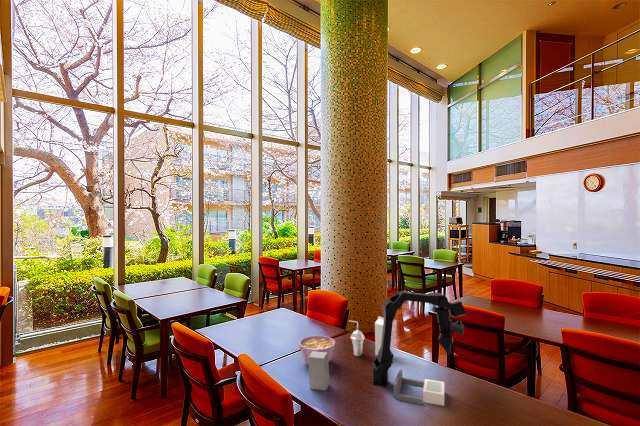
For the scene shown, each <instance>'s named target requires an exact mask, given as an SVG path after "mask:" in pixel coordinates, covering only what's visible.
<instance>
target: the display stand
mask: <svg viewBox="0 0 640 426" xmlns="http://www.w3.org/2000/svg"><path fill="white" fill-rule="evenodd" d="M424 381H425V380H419V379H414V378H410V377H409V378H408V377H403V369H401V368H400V369H399V370H398V373H397V375H396V377H395V379H394V382H393V399H396V400H398V401H403V402H407V403H412V404H418V405H420V406H421V405H423V398H420V397H416V396H412V395H406V394H401V393H400V389H401V387H402V384H408V385H414V386H417V387H423V388H424Z"/></svg>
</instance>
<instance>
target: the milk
mask: <svg viewBox="0 0 640 426" xmlns="http://www.w3.org/2000/svg"><path fill="white" fill-rule="evenodd" d="M383 323H384V317H382V316H379V315H378V316H377V320H376V321H375V322H374V340H375V341H374V342H375V345H374V346H375V347H374V349H375V351H374V353H375V356H377V355H378V351H379V349H380V347H381V342H382V332H383Z"/></svg>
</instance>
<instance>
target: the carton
mask: <svg viewBox="0 0 640 426" xmlns="http://www.w3.org/2000/svg"><path fill="white" fill-rule="evenodd" d="M423 381H424V387H423V390H422V392H423V393H422V396H423V398H422V403H427V404H431V405H437V406H443V407H445V382H444V381H440V380H433V379H428V378H427V379H426V378H424V380H423Z"/></svg>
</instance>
